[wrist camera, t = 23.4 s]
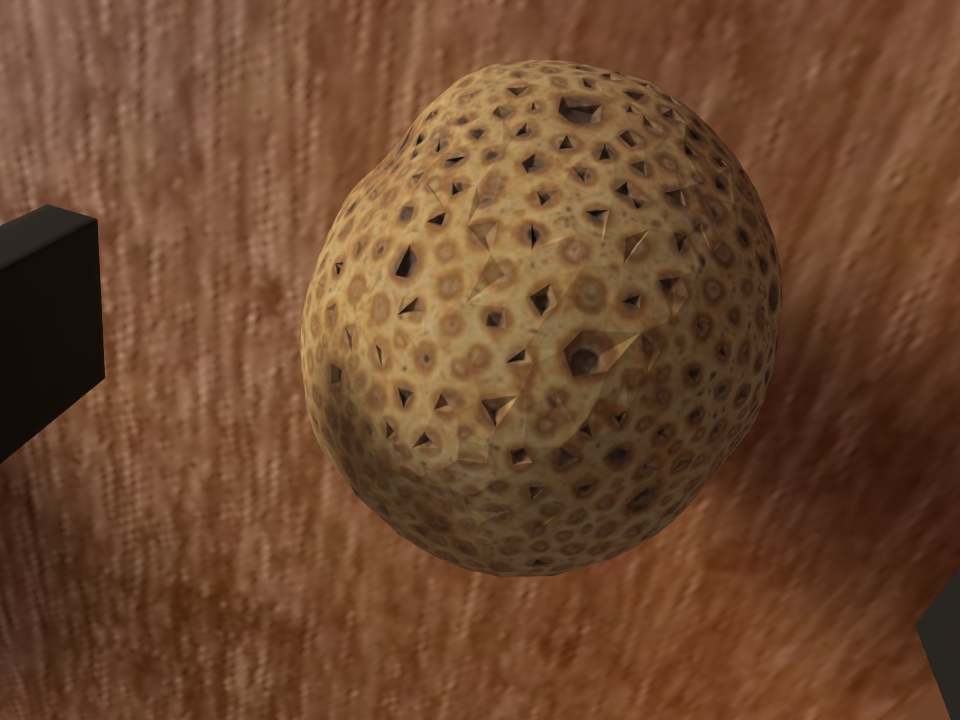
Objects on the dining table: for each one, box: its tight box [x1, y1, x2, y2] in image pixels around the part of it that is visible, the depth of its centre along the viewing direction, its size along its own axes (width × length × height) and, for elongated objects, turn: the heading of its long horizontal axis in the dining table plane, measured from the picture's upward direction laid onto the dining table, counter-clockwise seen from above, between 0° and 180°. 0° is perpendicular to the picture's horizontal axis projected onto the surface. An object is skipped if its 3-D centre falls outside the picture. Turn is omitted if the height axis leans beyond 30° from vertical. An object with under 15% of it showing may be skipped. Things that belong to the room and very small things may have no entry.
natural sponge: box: [301, 60, 782, 577], centre depth 15 cm, size 9×9×10 cm
